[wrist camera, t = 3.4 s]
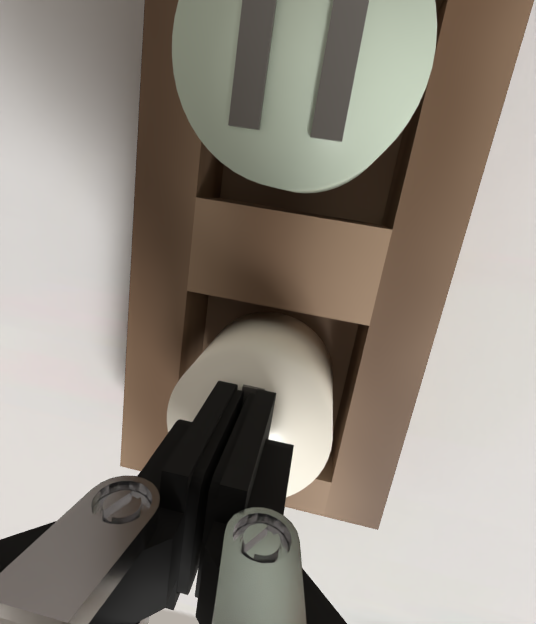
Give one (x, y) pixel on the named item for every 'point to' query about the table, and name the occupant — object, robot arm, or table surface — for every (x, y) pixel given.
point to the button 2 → (301, 83)
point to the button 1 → (270, 385)
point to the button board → (314, 251)
